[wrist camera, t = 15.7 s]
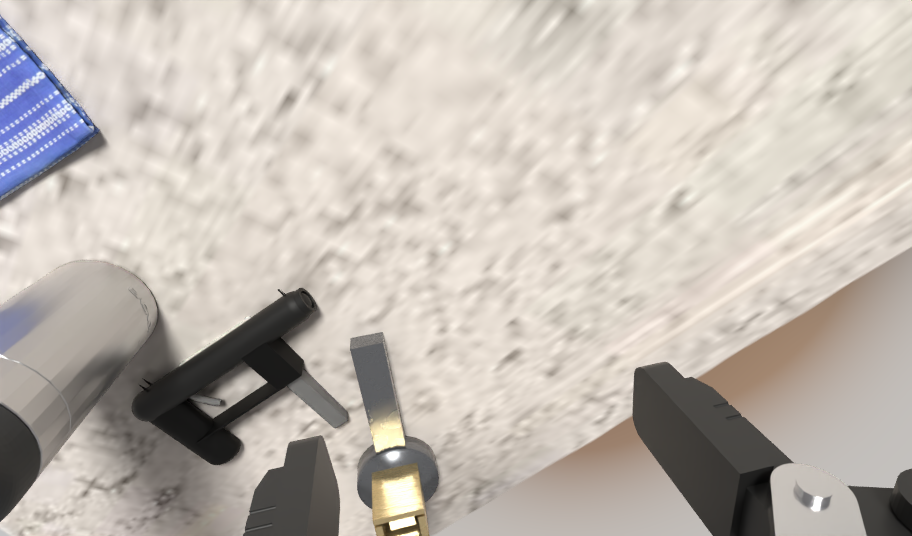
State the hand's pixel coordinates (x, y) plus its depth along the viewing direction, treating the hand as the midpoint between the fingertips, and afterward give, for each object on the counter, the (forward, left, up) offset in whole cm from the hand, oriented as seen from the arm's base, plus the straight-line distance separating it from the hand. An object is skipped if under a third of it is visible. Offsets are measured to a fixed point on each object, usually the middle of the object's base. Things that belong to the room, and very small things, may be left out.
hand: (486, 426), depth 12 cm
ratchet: (-6, -27, -33) cm, 43 cm away
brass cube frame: (-6, -34, -31) cm, 46 cm away
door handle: (-17, -19, -34) cm, 42 cm away
